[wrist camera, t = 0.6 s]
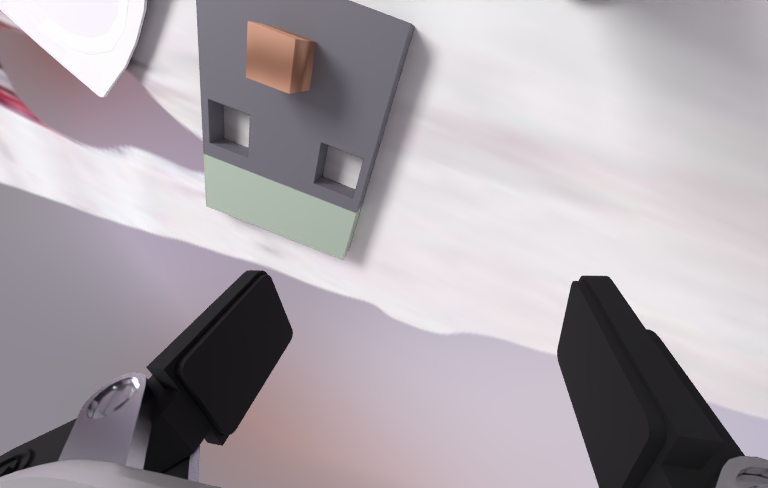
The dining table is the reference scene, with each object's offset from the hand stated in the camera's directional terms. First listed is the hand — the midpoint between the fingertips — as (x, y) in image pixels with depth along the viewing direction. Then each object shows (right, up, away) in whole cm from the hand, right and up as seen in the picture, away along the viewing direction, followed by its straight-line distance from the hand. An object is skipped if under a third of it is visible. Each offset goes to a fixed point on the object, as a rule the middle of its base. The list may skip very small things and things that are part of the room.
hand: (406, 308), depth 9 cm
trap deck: (-13, +18, +32) cm, 39 cm away
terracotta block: (-11, +23, +25) cm, 36 cm away
